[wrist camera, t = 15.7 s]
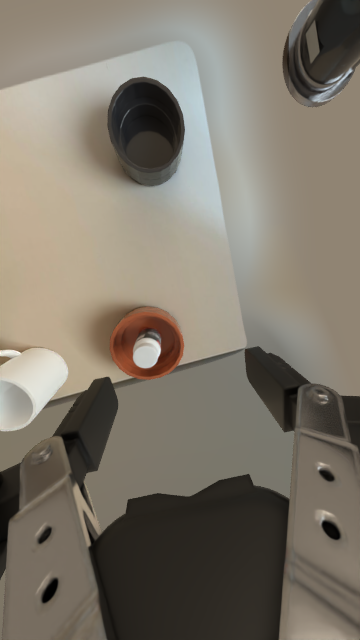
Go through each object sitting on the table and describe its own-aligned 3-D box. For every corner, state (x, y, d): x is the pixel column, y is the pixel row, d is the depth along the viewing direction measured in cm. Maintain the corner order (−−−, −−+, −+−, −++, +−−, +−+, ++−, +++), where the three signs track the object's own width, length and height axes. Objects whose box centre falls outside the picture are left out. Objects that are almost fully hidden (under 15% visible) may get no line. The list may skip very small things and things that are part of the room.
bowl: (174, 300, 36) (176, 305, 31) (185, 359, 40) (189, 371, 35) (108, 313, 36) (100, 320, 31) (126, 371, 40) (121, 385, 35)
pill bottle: (165, 338, 38) (166, 357, 30) (149, 352, 38) (145, 375, 30) (149, 322, 36) (145, 338, 28) (132, 337, 37) (124, 357, 29)
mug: (78, 378, 39) (49, 416, 29) (35, 396, 39) (-7, 439, 29) (43, 327, 35) (-4, 351, 25) (-4, 347, 36) (-67, 378, 26)
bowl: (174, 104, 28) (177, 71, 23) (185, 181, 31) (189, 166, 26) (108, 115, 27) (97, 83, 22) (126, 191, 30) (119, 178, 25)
